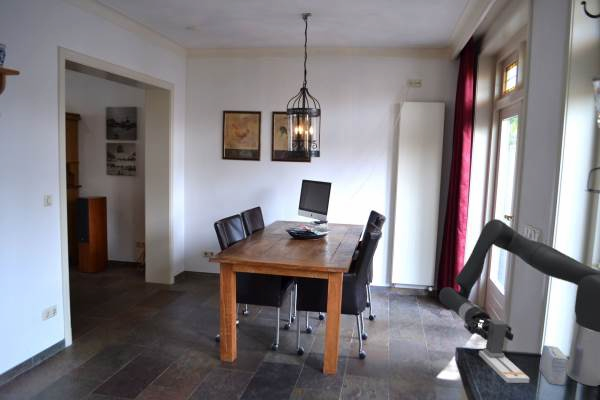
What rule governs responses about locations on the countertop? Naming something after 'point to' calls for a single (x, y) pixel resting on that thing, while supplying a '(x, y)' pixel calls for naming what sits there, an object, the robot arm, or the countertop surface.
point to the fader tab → (495, 339)
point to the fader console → (505, 368)
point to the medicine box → (553, 365)
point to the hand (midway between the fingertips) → (499, 337)
